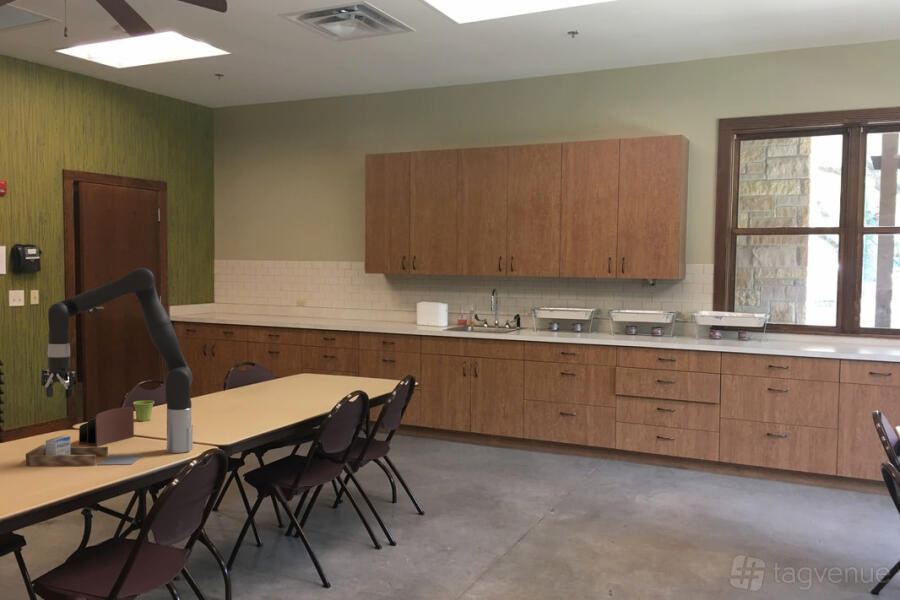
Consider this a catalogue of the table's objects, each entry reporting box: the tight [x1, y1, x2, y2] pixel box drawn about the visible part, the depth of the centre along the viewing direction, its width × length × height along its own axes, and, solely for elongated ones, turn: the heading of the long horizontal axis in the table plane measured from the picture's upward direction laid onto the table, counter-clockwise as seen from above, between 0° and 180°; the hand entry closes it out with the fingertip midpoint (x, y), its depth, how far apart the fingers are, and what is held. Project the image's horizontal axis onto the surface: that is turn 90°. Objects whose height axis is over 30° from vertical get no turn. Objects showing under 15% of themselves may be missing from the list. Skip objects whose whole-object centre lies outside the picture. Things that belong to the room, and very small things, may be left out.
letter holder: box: [78, 406, 135, 447], centre depth 310 cm, size 10×20×14 cm, turn 158°
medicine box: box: [45, 435, 71, 455], centre depth 277 cm, size 8×4×9 cm, turn 168°
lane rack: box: [25, 444, 109, 467], centre depth 277 cm, size 24×14×4 cm, turn 97°
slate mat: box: [97, 454, 144, 466], centre depth 279 cm, size 12×14×1 cm
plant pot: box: [132, 400, 155, 422], centre depth 352 cm, size 9×9×9 cm
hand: (58, 397), depth 280 cm, fingers open, 8 cm apart
